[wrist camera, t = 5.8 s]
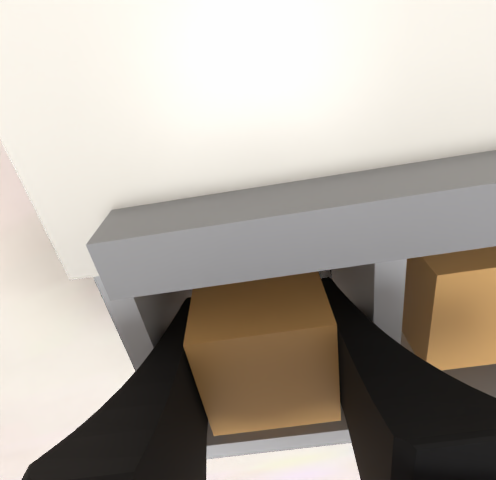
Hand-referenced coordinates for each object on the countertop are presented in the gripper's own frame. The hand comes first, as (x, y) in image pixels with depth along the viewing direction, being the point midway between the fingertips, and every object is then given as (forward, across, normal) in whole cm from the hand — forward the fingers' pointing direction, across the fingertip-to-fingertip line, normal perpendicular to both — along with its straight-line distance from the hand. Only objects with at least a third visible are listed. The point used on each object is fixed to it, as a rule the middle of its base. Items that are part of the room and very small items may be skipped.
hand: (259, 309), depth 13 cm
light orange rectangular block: (+2, 0, 0) cm, 2 cm away
